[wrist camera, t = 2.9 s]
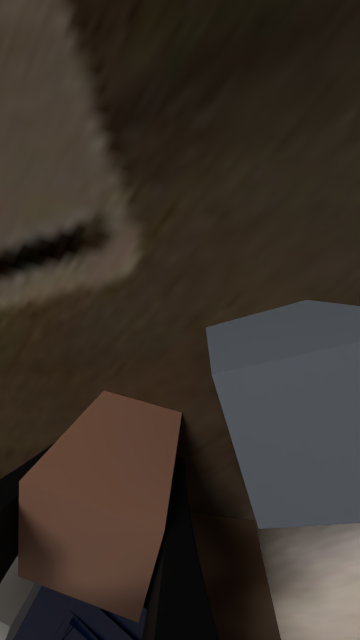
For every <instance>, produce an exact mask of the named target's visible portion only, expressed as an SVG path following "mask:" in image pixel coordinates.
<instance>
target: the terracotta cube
mask: <svg viewBox="0 0 360 640" xmlns="http://www.w3.org/2000/svg"><path fill="white" fill-rule="evenodd" d="M181 416H182V412H178V411H175V410H171V409H167V408H164V407H160V406H157V405H153V404H150V403H146V402H143V401H139V400H136V399H132V398H129V397H125V396H121V395H118V394H114V393H111V392H107V391H103V392H102V393H101V394H100V395H99V396H98V398H97V399H96V400H95V401H94V402H93V403H92V404H91V405H90V406H89V407H88V408H87V409H86V410H85V411H84V412H83V414H82V415H81V416H80V417H79V418H78V419H77V420H76V421H75V422H74V423H73V424H72V425H71V426H70V427H69V429H68V430H67V431H66V432H65V433H64V434H63V435H62V436H61V437H60V438H59V439H58V440H57V441H56V442H55V444H54V445H53V446H52V447H51V448H50V449H49V450H48V451H47V452H46V453H45V454H44V455H43V456H42V457H41V458H40V460H39V461H38V462H37V463H36V464H35V465H34V466H33V467H32V468H31V469H30V470H29V471H28V472H27V473H26V475H25V476H24V477H23V478H22V479H21V480H20V481H19V526H18V576H19V577H21V578H24V579H26V580H29V581H31V582H34V583H37V584H39V585H42V586H44V587H47V588H50V589H52V590H55V591H57V592H60V593H63V594H65V595H68V596H70V597H73V598H76V599H78V600H81V601H83V602H86V603H89V604H91V605H94V606H96V607H99V608H102V609H104V610H107V611H109V612H112V613H114V614H117V615H120V616H122V617H125V618H127V619H130V620H133V621H135V622H138V623H139V619H140V616H141V612H142V609H143V605H144V601H145V598H146V594H147V591H148V587H149V584H150V580H151V577H152V573H153V570H154V566H155V563H156V559H157V555H158V552H159V548H160V545H161V541H162V538H163V534H164V531H165V524H166V517H167V510H168V504H169V497H170V490H171V483H172V477H173V470H174V463H175V456H176V450H177V443H178V436H179V429H180V423H181Z"/></svg>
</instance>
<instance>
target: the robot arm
mask: <svg viewBox="0 0 360 640" xmlns="http://www.w3.org/2000/svg"><path fill="white" fill-rule="evenodd" d="M54 444H55V443H53V444H52V445H50V446H49V447H48V448H46V449H45V450H43V451H42V452H41V453H39V454H38V455H36V456H35V457H33V458H32V459H30V460H29V461H28V462H26V463H25V464H23V465H22V466H20V467H19V468H17V469H15V470H14V471H12V472H11V473H9V474H8V475H6V476H5V477H3V478H2V479H0V583H1V581H2V580H3V578H4V576H5V575H6V573H7V572H8V570H9V568H10V567H11V565H12V564H13V562H14V560H15V559H16V557H17V556H18V526H19V481H20V480H21V479H22V478H23V477H24V476H25V475H26V473H27V472H28V471H29V470H30V469H31V468H32V467H33V466H34V465H35V464H36V463H37V462H38V461H39V460H40V458H41V457H42V456H43V455H44V454H45V453H46V452H47V451H48V450H49V449H50V448H51V447H52V446H53V445H54ZM142 640H219V637H218V634H217V630H216V627H215V623H214V619H213V616H212V612H211V608H210V604H209V600H208V596H207V592H206V588H205V584H204V579H203V575H202V571H201V567H200V562H199V557H198V553H197V548H196V543H195V538H194V533H193V527H192V522H191V515H190V509H189V503H188V496H187V487H186V478H185V461H184V459H182V458H179V457H175V463H174V470H173V477H172V483H171V490H170V497H169V504H168V510H167V517H166V524H165V531H164V534H163V538H162V541H161V545H160V548H159V552H158V555H157V559H156V563H155V566H154V570H153V573H152V579H151V587H150V593H149V600H148V607H147V612H146V618H145V624H144V630H143V635H142Z"/></svg>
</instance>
